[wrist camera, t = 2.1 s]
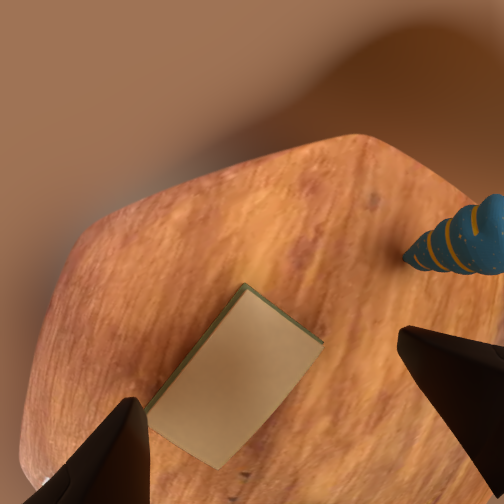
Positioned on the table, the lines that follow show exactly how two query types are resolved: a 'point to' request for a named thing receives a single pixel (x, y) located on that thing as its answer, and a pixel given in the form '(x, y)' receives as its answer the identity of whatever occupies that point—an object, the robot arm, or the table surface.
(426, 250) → the ornament
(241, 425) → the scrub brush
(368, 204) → the table surface
